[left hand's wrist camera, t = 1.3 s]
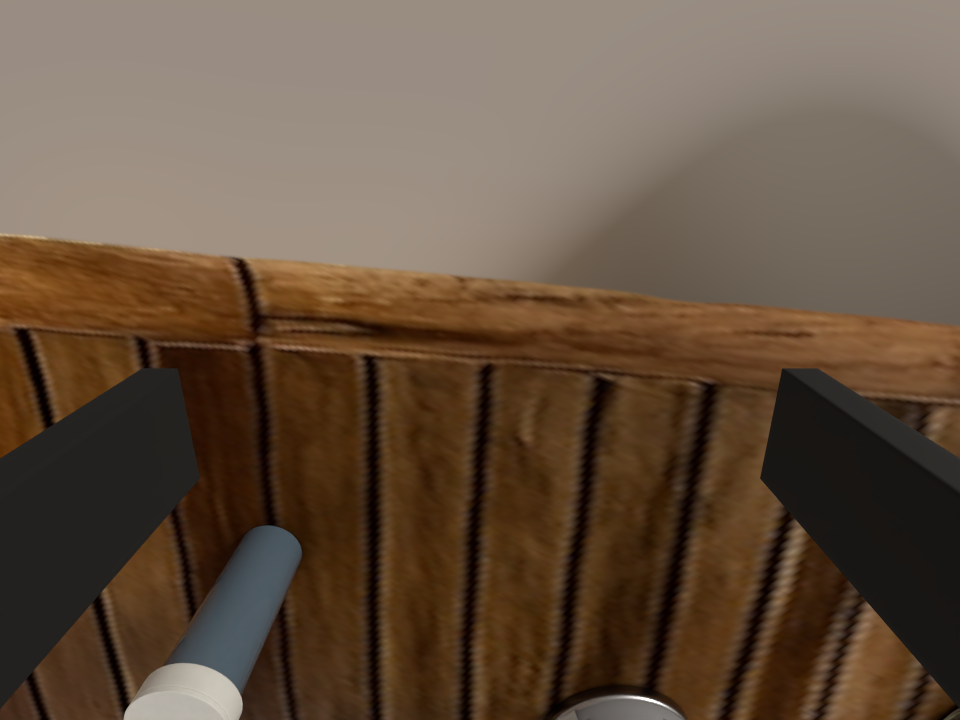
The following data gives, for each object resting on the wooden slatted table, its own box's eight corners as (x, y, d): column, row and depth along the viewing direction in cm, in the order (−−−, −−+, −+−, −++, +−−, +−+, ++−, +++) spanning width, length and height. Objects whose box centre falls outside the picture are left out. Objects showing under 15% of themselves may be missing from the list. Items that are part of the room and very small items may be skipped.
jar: (293, 582, 49) (215, 762, 34) (234, 565, 48) (129, 740, 34) (309, 535, 47) (233, 704, 33) (247, 517, 46) (143, 680, 32)
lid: (231, 744, 36) (217, 775, 34) (134, 720, 35) (116, 751, 33) (252, 678, 34) (239, 708, 32) (151, 651, 33) (131, 680, 31)
